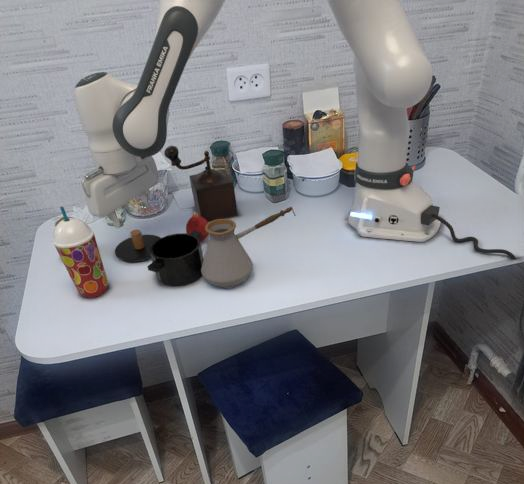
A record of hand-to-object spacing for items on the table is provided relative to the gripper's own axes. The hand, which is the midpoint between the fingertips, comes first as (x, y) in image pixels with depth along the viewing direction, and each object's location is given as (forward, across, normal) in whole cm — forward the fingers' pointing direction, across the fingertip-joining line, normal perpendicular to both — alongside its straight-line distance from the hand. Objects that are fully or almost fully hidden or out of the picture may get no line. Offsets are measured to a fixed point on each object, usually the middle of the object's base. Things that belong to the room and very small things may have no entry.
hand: (132, 217), depth 112 cm
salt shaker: (+9, -8, +14) cm, 19 cm away
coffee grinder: (+9, +23, -4) cm, 25 cm away
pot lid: (+8, 0, 0) cm, 8 cm away
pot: (+9, -4, -16) cm, 19 cm away
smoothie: (+9, -18, -2) cm, 20 cm away
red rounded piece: (+9, +9, -12) cm, 17 cm away
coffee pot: (+9, +1, -31) cm, 33 cm away
